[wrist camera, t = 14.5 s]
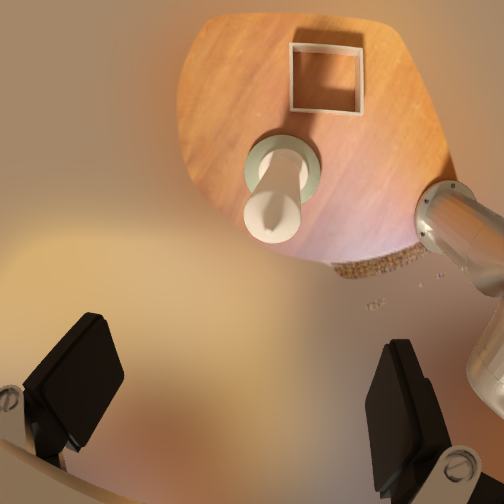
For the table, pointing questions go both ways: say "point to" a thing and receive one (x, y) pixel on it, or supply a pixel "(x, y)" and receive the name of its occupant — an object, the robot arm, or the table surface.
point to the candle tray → (340, 51)
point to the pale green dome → (289, 143)
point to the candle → (277, 197)
